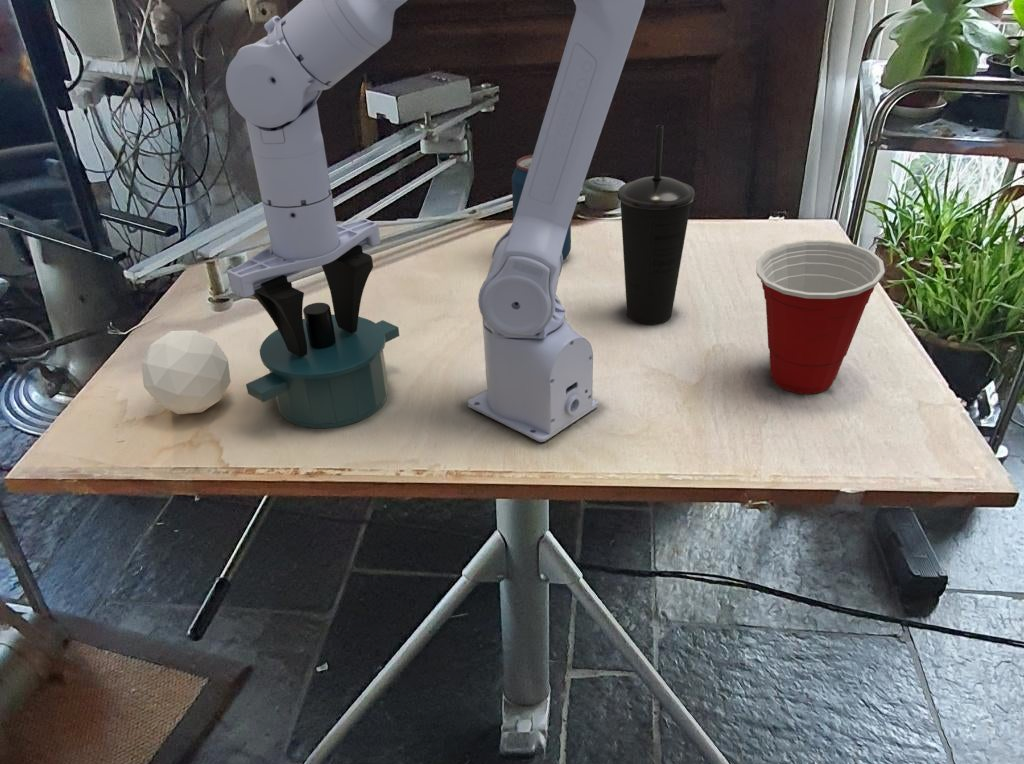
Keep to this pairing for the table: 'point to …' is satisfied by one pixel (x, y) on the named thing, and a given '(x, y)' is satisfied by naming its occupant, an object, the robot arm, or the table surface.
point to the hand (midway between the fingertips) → (323, 340)
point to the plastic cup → (814, 308)
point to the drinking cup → (653, 240)
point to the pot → (329, 393)
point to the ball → (185, 371)
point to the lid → (324, 347)
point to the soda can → (517, 188)
